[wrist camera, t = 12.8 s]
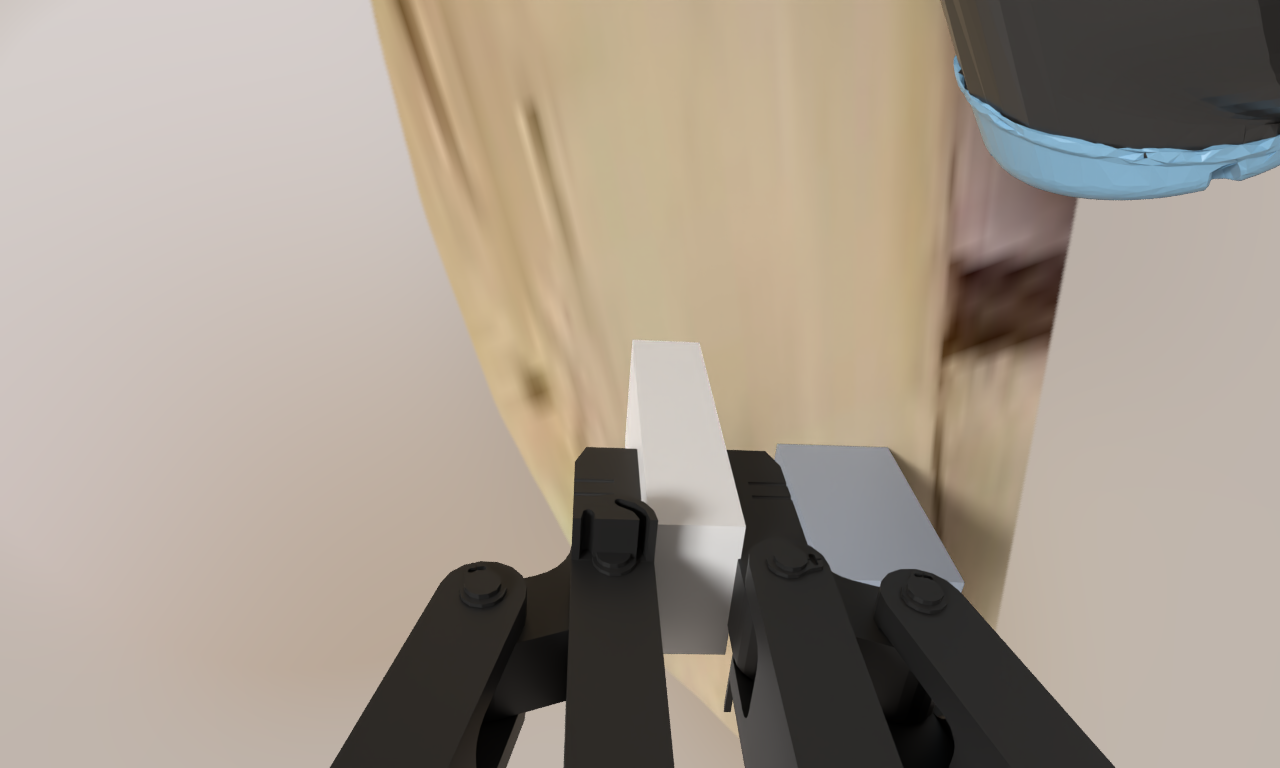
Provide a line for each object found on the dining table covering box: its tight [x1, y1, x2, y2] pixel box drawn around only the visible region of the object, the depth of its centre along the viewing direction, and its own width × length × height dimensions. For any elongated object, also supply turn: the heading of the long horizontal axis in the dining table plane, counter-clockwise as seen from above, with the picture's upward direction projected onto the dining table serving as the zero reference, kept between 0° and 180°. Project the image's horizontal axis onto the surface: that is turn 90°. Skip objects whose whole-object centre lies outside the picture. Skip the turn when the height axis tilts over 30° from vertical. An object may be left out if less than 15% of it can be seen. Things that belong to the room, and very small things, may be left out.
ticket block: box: [775, 444, 965, 592], centre depth 55 cm, size 12×8×14 cm, turn 176°
